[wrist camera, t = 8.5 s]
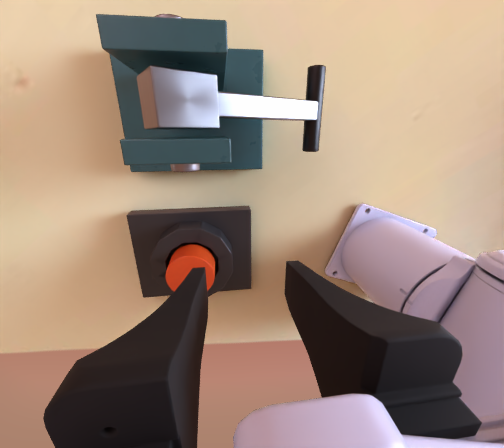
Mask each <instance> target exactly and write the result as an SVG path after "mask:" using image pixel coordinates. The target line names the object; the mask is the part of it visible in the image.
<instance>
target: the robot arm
mask: <svg viewBox="0 0 504 448" xmlns="http://www.w3.org/2000/svg"><path fill="white" fill-rule="evenodd" d="M367 208H368V211H367V212H365V210H366V209H367ZM423 230H424V231H423ZM436 234H437V230H436V229H434V228H432V227H429V226H426V225H423V224H421V223H418V222H415V221H412V220H409V219H406V218H404V217H401V216H398V215H395V214H392V213H389V212H387V211H384V210H381V209H378V208H375V207H373V206H370V205H367V204H364V203H361V204H359V205H358V206H357V207H356V209H355V211H354V213H353V215H352V217H351V219H350V221H349V223H348V225H347V227H346V229H345V231H344V233H343V235H342V237H341V239H340V241H339V243H338V245H337V247H336V249H335V251H334V253H333V255H332V257H331V259H330V261H329V263H328V265H327V267H326V269H325V273H326V275H327V276H330V277H334V278H337V279H341V280H345V281H349V282H353V283H356V284H357V285H358V286H359V287H360V288H361V289H362V290H363V291H364V293H365V294H366V295H367V296H368V297H369V298H370V299H371V300H372V301H373V303H372V302H369V301H367V300H364V299H362V298H360V297H357V296H355V295H353V294H351V293H349V292H347V291H345V290H343V289H341V288H340V287H338V286H336V285H334V284H333V283H331V282H329V281H328V280H326V279H325V278H323V277H321V276H320V275H318V274H317V273H315V272H314V271H313V270H311V269H310V268H308V267H307V266H305V265H304V264H302V263H301V262H299V261H286V278H285V297H286V300H287V304H288V307H289V311H290V313H291V315H292V318H293V320H294V322H295V325H296V327H297V329H298V332H299V334H300V336H301V338H302V341H303V343H304V345H305V347H306V350H307V352H308V355H309V358H310V361H311V364H312V367H313V370H314V373H315V376H316V380H317V383H318V386H319V389H320V393H321V396H322V398H316V399H309V400H302V401H295V402H287V403H280V404H273V405H269V406H266V407H263V408H259V409H256V410H254V411H252V412H251V413H250V414H249V415H247V416H246V417H245V418H244V419H242V420H241V421H240V422H239V424H238V426H237V429H236V431H235V434H234V437H233V441H234V448H504V251H503V250H497V251H492V252H489V253H488V252H483V253H480V254H479V256H478V257H477V259H474V258H472V257H470V256H468V255H466V254H464V253H462V252H460V251H458V250H456V249H454V248H452V247H450V246H448V245H446V244H444V243H442V242H440V241H438V240H436V239H434V237H435V236H436ZM334 271H336V272H335V273H333V272H334ZM207 319H208V294H207V282H206V270H205V267H198V268H192V269H191V271H190V272H189V273H188V275H187V276H186V278H185V279H184V280H183V282H182V283H181V284H180V285H179V286H178V288H177V289H176V290H175V291H174V292H173V294H172V295H171V296H170V297H169V298H168V299H167V300H166V301H165V302H164V303H163V304H162V305H161V306H160V307H159V308H158V309H157V310H156V311H155V312H153V313H152V314H151V315H150V316H149V317H147V318H146V319H145V320H143V321H142V322H141V323H139V324H138V325H137V326H135V327H134V328H133V329H131V330H130V331H128V332H127V333H125V334H124V335H122V336H121V337H119V338H117V339H116V340H114V341H113V342H111V343H109V344H107V345H106V346H104V347H102V348H100V349H98V350H96V351H95V352H93V353H91V354H89V355H87V356H85V357H83V358H81V359H79V360H77V362H76V363H75V364H74V366H73V367H72V369H71V370H70V371H69V373H68V374H67V375H66V377H65V379H64V380H63V382H62V383H61V385H60V387H59V388H58V390H57V392H56V393H55V395H54V396H53V398H52V400H51V401H50V403H49V404H48V406H47V408H46V409H45V413H44V423H45V427H46V429H47V431H48V434H49V436H50V438H51V440H52V441H53V444H54V446H55V448H197V433H198V407H199V387H200V369H201V359H202V353H203V346H204V339H205V333H206V326H207Z"/></svg>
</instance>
